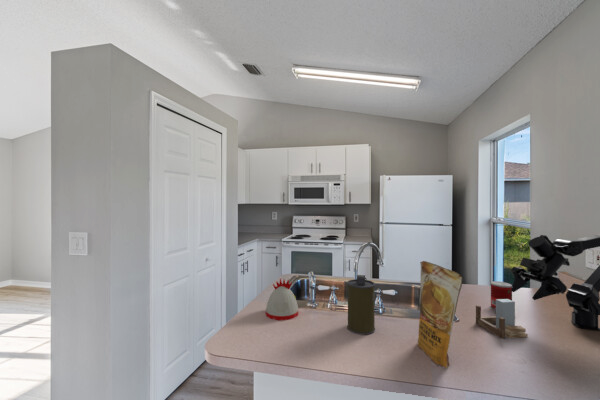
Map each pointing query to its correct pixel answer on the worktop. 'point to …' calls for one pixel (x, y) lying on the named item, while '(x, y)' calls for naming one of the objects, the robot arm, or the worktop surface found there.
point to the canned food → (500, 292)
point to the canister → (361, 306)
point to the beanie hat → (282, 302)
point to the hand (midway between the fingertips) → (522, 295)
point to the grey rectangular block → (505, 311)
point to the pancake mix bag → (437, 310)
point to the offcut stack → (515, 332)
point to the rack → (490, 323)
